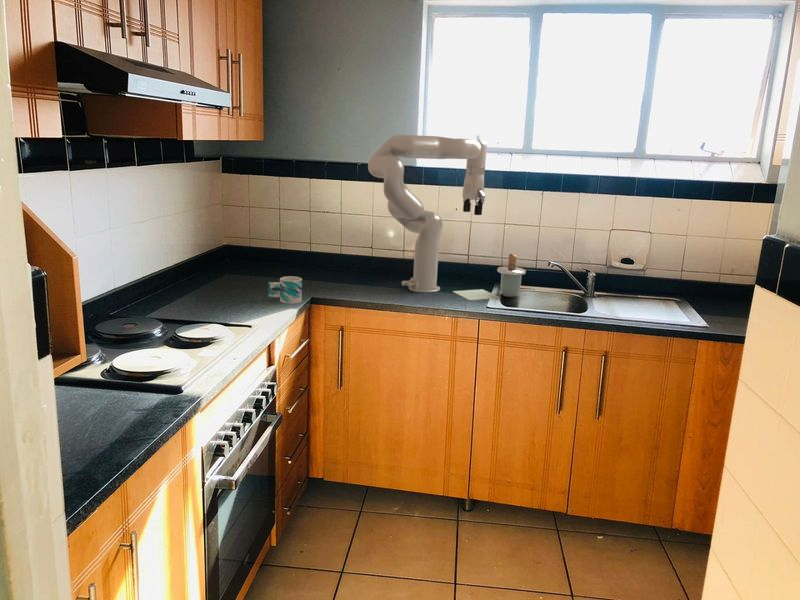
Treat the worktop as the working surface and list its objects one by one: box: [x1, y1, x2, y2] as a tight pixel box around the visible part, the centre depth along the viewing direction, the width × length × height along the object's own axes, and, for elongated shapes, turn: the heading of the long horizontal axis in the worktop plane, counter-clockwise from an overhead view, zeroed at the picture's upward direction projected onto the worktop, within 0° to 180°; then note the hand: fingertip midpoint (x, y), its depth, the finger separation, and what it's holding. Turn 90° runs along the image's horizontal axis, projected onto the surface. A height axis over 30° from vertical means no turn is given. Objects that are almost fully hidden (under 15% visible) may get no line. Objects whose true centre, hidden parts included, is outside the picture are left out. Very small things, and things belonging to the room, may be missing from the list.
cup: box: [500, 273, 523, 298], centre depth 262 cm, size 8×8×10 cm
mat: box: [451, 288, 501, 301], centre depth 261 cm, size 14×14×1 cm
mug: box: [267, 275, 303, 305], centre depth 240 cm, size 8×12×8 cm
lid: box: [496, 253, 527, 276], centre depth 259 cm, size 11×11×7 cm
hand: (472, 213), depth 272 cm, fingers open, 9 cm apart
